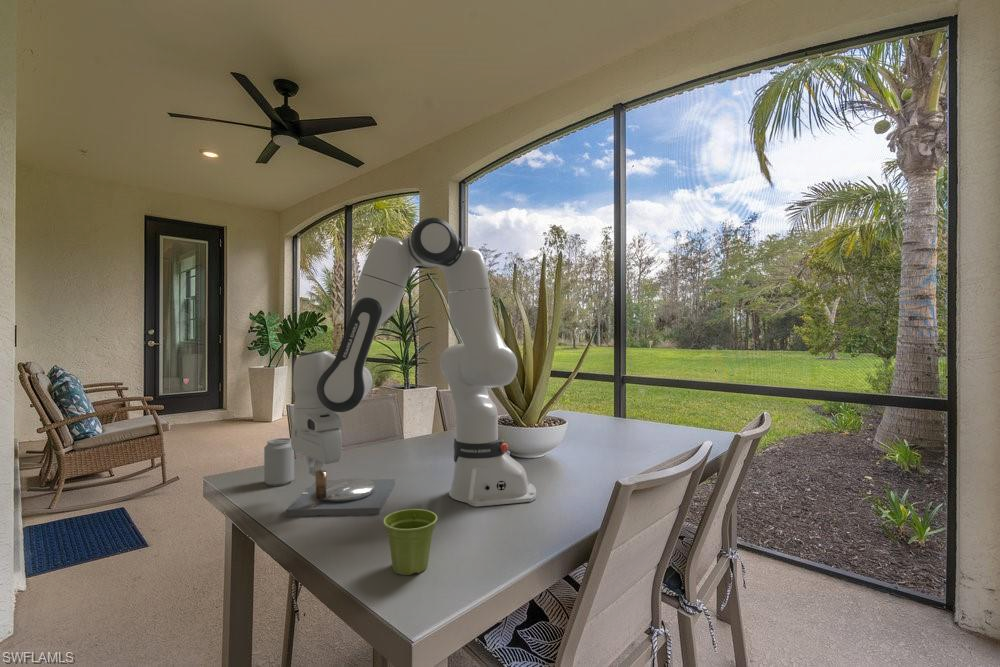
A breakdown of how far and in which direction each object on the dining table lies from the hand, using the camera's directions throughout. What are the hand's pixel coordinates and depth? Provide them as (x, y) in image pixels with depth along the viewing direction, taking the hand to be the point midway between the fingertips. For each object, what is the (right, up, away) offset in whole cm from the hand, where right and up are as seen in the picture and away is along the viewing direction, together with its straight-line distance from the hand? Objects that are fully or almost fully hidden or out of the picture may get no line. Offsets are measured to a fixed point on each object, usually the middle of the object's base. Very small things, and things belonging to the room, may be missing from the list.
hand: (315, 474), depth 111 cm
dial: (+5, -6, +3) cm, 9 cm away
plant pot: (+29, -8, -29) cm, 42 cm away
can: (-17, -8, +17) cm, 25 cm away
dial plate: (+6, -8, +4) cm, 10 cm away
